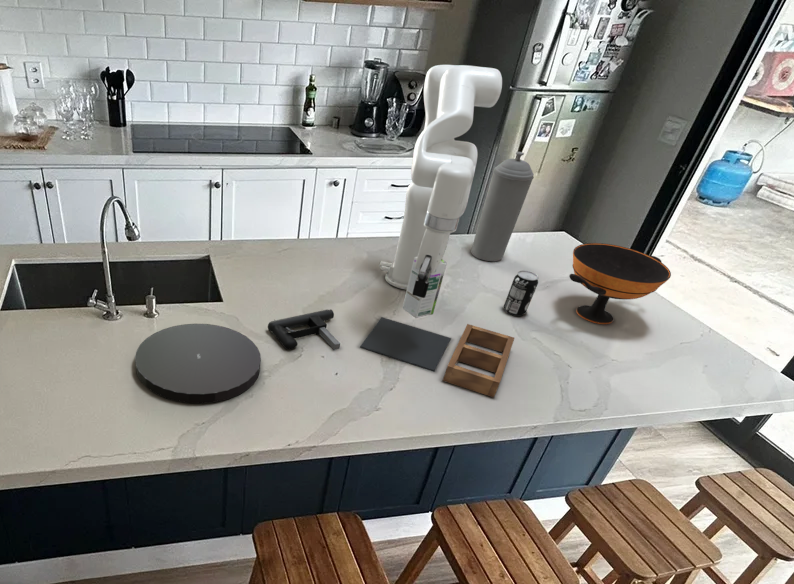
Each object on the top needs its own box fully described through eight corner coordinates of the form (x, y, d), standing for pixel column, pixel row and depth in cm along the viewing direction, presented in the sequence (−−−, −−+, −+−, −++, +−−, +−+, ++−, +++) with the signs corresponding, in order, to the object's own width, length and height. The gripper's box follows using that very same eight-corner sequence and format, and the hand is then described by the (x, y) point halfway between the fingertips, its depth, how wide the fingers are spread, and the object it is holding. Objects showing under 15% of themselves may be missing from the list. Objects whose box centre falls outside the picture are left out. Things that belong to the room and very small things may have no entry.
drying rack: (442, 380, 141) (447, 365, 138) (462, 337, 158) (467, 323, 155) (493, 397, 137) (499, 382, 134) (509, 351, 154) (514, 337, 151)
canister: (510, 256, 203) (547, 154, 182) (494, 266, 196) (531, 160, 174) (477, 245, 210) (510, 144, 188) (461, 254, 202) (492, 150, 181)
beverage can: (522, 307, 174) (536, 271, 167) (527, 318, 169) (542, 281, 162) (500, 304, 174) (513, 268, 167) (505, 315, 169) (519, 279, 162)
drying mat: (359, 347, 151) (360, 346, 150) (381, 318, 163) (381, 316, 163) (434, 371, 144) (434, 370, 144) (450, 339, 157) (451, 338, 157)
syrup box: (415, 319, 144) (430, 265, 135) (401, 308, 148) (414, 255, 139) (433, 314, 147) (448, 262, 138) (418, 304, 151) (432, 252, 142)
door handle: (359, 336, 150) (327, 304, 160) (293, 352, 142) (264, 317, 153) (357, 346, 152) (325, 314, 163) (292, 362, 145) (263, 328, 155)
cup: (591, 349, 157) (620, 292, 146) (520, 306, 174) (542, 252, 163) (669, 324, 172) (701, 271, 161) (596, 287, 189) (621, 236, 178)
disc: (123, 343, 145) (122, 333, 143) (233, 325, 155) (234, 315, 153) (154, 416, 124) (153, 405, 122) (279, 389, 134) (281, 379, 132)
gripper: (434, 207, 140) (417, 273, 151) (415, 228, 128) (398, 299, 139) (465, 214, 138) (445, 280, 149) (448, 236, 125) (428, 307, 136)
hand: (423, 289), depth 144 cm, fingers closed on syrup box, 7 cm apart
